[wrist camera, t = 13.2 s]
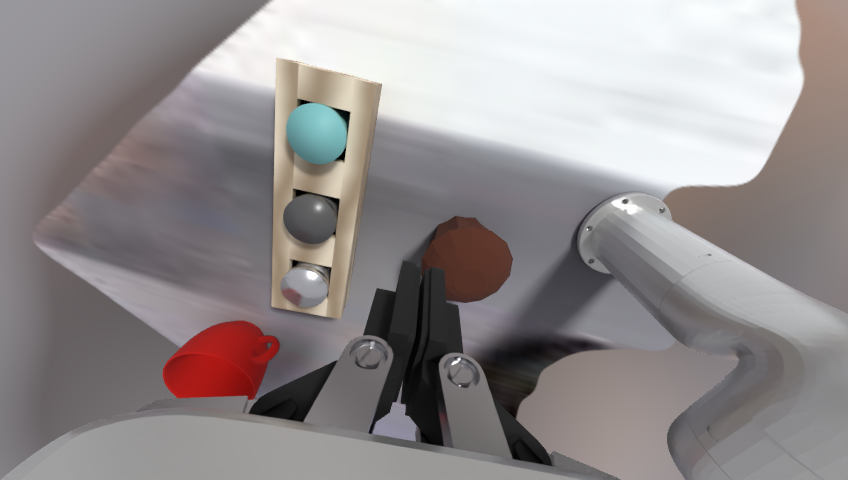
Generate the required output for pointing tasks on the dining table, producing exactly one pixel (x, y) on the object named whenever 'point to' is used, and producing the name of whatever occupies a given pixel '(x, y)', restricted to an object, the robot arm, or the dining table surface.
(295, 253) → the box
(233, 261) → the dining table surface
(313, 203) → the dark gray knob
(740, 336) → the robot arm
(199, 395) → the ceramic cup
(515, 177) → the dining table surface
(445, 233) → the muffin
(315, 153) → the teal knob
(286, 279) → the steel knob
